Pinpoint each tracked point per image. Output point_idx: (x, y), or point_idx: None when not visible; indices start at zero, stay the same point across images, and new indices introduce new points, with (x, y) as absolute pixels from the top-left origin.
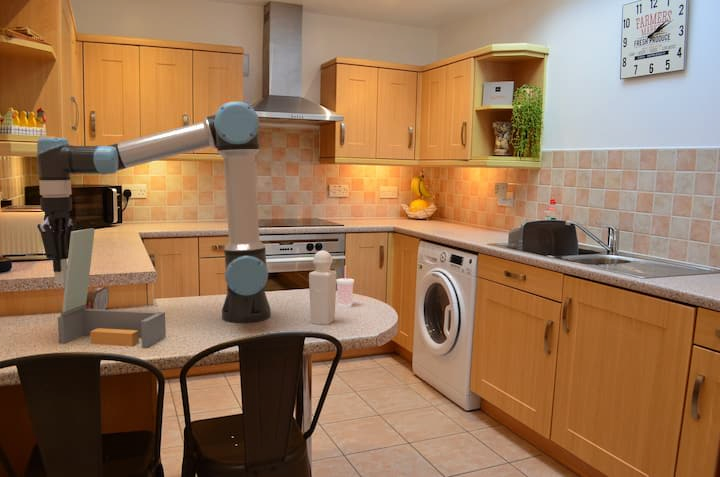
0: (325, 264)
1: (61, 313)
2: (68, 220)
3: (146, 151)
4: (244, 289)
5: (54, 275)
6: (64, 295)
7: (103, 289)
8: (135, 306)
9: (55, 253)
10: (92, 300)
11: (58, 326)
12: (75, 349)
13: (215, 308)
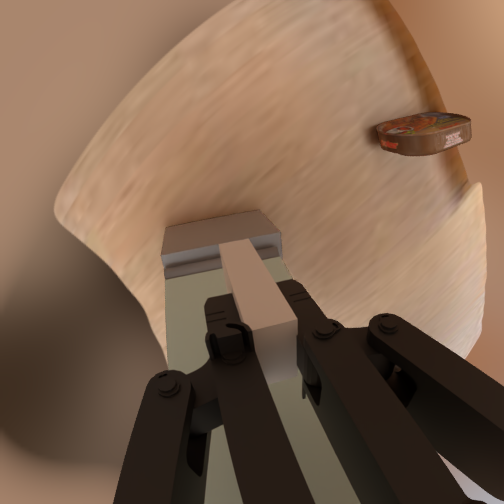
0: None
1: (164, 273)
2: None
3: None
4: None
5: (225, 264)
6: (166, 323)
7: (456, 145)
8: (451, 173)
9: (192, 451)
10: (402, 152)
11: (162, 245)
12: (146, 296)
13: (432, 310)
